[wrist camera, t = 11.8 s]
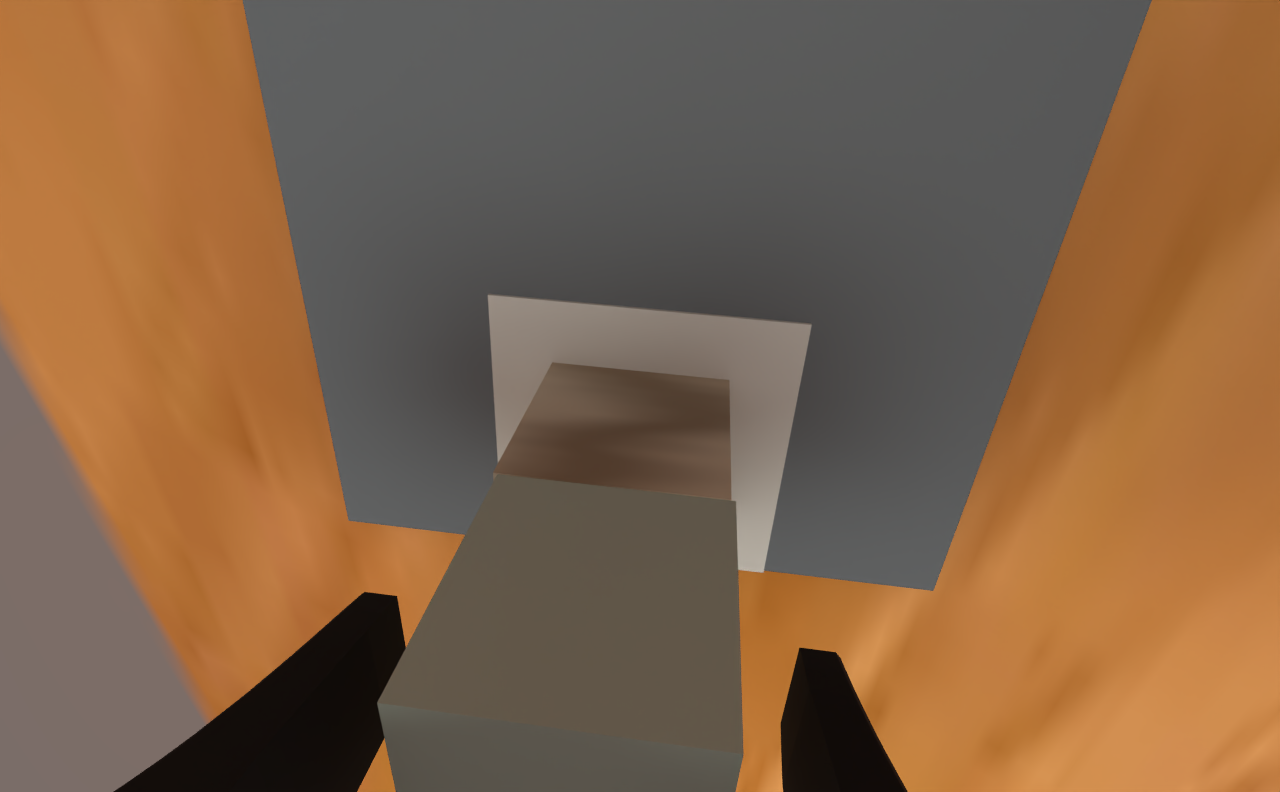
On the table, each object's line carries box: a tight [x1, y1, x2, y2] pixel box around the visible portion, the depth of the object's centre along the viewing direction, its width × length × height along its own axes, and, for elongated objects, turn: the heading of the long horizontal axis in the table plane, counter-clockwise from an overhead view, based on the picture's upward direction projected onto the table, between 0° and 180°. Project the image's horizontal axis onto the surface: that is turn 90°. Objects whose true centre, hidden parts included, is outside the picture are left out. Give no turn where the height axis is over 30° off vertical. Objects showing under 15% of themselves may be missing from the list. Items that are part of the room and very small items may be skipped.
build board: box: [243, 0, 1152, 591], centre depth 17 cm, size 18×15×1 cm
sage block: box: [377, 474, 743, 792], centre depth 11 cm, size 5×5×5 cm
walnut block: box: [493, 362, 732, 501], centre depth 16 cm, size 5×5×5 cm
